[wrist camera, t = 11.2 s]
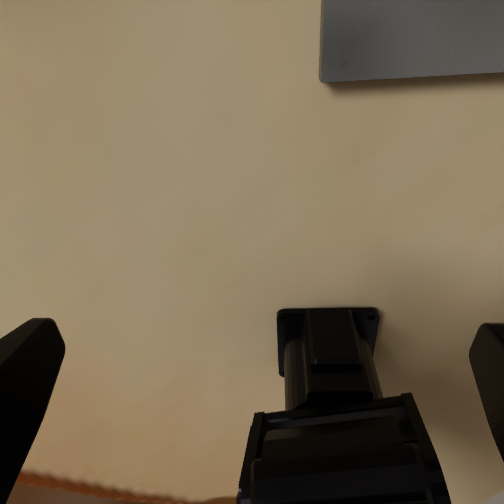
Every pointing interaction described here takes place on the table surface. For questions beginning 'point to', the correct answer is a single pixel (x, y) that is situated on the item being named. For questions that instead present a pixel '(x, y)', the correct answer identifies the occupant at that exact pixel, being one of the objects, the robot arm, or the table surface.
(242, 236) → the table surface
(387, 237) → the table surface
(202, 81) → the table surface
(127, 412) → the table surface
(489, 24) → the port
